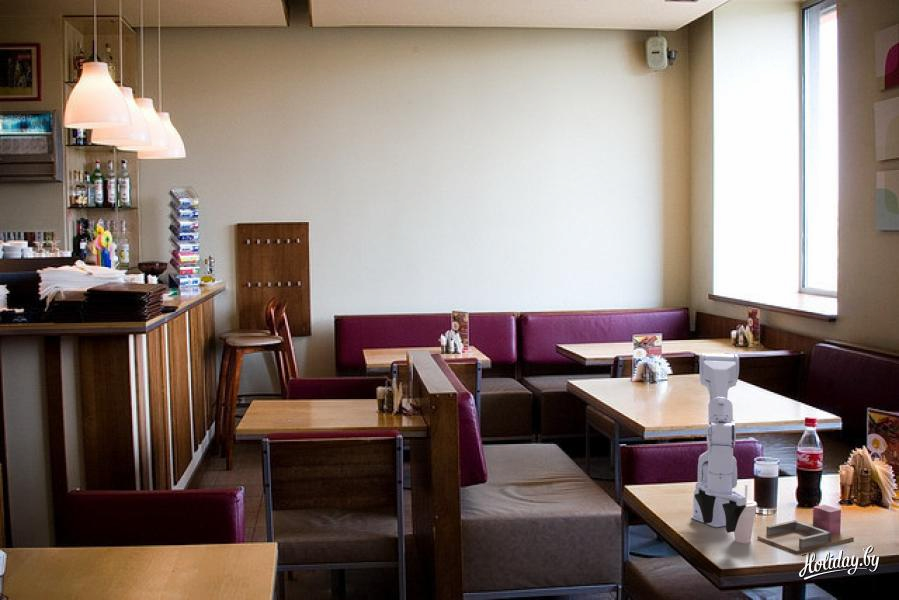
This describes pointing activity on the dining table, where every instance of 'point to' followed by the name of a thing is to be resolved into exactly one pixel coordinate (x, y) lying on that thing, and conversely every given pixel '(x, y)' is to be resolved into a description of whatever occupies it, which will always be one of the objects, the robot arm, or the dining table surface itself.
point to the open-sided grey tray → (808, 532)
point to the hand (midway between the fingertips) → (719, 527)
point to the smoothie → (745, 521)
